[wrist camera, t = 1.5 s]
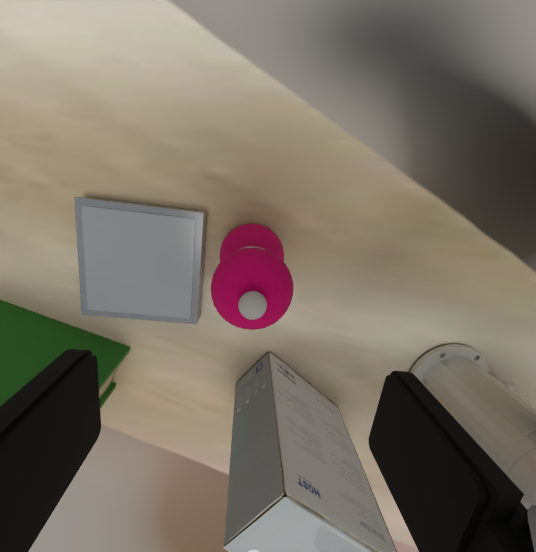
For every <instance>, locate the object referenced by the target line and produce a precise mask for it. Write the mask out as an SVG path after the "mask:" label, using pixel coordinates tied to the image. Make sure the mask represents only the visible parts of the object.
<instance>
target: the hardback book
mask: <svg viewBox="0 0 536 552" xmlns="http://www.w3.org/2000/svg"><path fill="white" fill-rule="evenodd" d="M130 348H131V347H129V346H126V345H123V344H121V343H118V342H115V341H112V340H110V339H107V338H104V337H101V336H98V335H96V334H93V333H90V332H87V331H85V330H82V329H79V328H76V327H74V326H71V325H68V324H65V323H62V322H60V321H57V320H54V319H51V318H49V317H46V316H43V315H40V314H38V313H35V312H32V311H29V310H26V309H24V308H21V307H18V306H15V305H13V304H10V303H7V302H4V301H2V300H0V406H1V405H2V404H3V403H5V402H6V401H7V400H8V399H9V398H10V397H12V396H13V395H14V394H15V393H16V392H17V391H19V390H20V389H21V388H22V387H23V386H24V385H26V384H27V383H28V382H29V381H30V380H31V379H33V378H34V377H35V376H36V375H37V374H38V373H40V372H41V371H42V370H43V369H44V368H45V367H47V366H48V365H49V364H50V363H51V362H53V361H54V360H55V359H56V358H57V357H58V356H60V355H61V354H62V353H63V352H64V351H66V350H67V349H79V350H89V351H91V353H92V355H95V356H96V357H97V362H98V381H99V399H100V408H101V407H102V406H103V404H104V403H105V401H106V400H107V398H108V397H109V396H110V394H111V393H112V391H113V390H114V389H115V386H116V383H113V382H111V380H112V377H113V375H114V372H115V369H116V368H117V367H118V365H119V364H120V363H121V362H122V360H123V359H124V358H125V356H126V355H127V354H128V353H129V350H130Z"/></svg>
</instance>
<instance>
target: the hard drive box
mask: <svg viewBox="0 0 536 552" xmlns="http://www.w3.org/2000/svg"><path fill="white" fill-rule="evenodd" d="M223 548H224V549H225V550H227V551H229V552H397V550H396V548H395V545H394V543H393V540H392V538H391V536H390V533H389V531H388V528H387V526H386V523H385V521H384V518H383V516H382V513H381V511H380V509H379V506H378V504H377V501H376V499H375V496H374V494H373V492H372V489H371V487H370V484H369V482H368V479H367V477H366V474H365V472H364V470H363V467H362V465H361V462H360V460H359V457H358V455H357V453H356V450H355V448H354V445H353V443H352V440H351V438H350V436H349V433H348V431H347V428H346V426H345V423H344V421H343V418H342V416H341V414H340V411H339V409H338V407H336V406H335V405H334V404H333V403H331V402H330V401H329V400H328V399H327V398H326V397H324V396H323V395H322V394H321V393H319V392H318V391H317V390H316V389H314V388H313V387H312V386H311V385H310V384H308V383H307V382H306V381H305V380H303V379H302V378H301V377H300V376H299V375H297V374H296V373H295V372H294V371H293V370H292V369H291V368H289V367H288V366H287V365H286V364H284V363H283V362H282V361H280V360H279V359H278V358H277V357H276V356H274V355H273V354H272V353H267V354H266V355H265V356H264V357H263V358H262V359H261V360H260V361H259V362H257V363H256V364H255V365H254V366H253V367H252V368H251V369H250V370H249V371H248V372H247V373H246V374H245V375H244V376H243V377H242V378H241V379H240V380H239V381H238V382H237V383H236V388H235V403H234V417H233V430H232V444H231V458H230V472H229V487H228V502H227V515H226V529H225V542H224V547H223Z"/></svg>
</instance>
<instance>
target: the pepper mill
mask: <svg viewBox="0 0 536 552" xmlns="http://www.w3.org/2000/svg"><path fill="white" fill-rule="evenodd" d="M283 261H284V253H283V247H282V244H281V242H280V240H279V238H278V237H277V235H276V234H275V233H274V232H273V231H271V230H270V229H269V228H267V227H265V226H262V225H258V224H245V225H241V226H239V227H237V228H235V229H233V230H232V231H231V232H230V233H229V234H228V235H227V236H226V237H225V239H224V241H223V243H222V246H221V251H220V264H219V265H218V266H217V268H216V270H215V272H214V274H213V278H212V283H211V294H212V299H213V303H214V306H215V307H216V309H217V311H218V312H219V314H220V315H221V316H222V317H223V318H224V319H225V320H226V321H228V322H229V323H230V324H232V325H234V326H236V327H240V328H243V329H251V330H253V329H261V328H266V327H268V326H270V325H272V324H274V323H275V322H277V321H278V320H279V319H280V318H281V317H282V316H283V315H284V313H285V312H286V311H287V309H288V307H289V305H290V303H291V299H292V296H293V281H292V277H291V274H290V271H289V269H288V268H287V266H286V265H285V263H284V262H283Z"/></svg>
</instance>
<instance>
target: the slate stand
mask: <svg viewBox="0 0 536 552" xmlns="http://www.w3.org/2000/svg"><path fill="white" fill-rule="evenodd" d="M74 199H75V215H76V231H77V246H78V262H79V278H80V293H81V309H82V314H84V315H95V316H107V317H119V318H130V319H142V320H154V321H165V322H177V323H189V324H197V323H198V320H199V318H200V314H201V298H202V282H203V266H204V250H205V234H206V218H207V212H205V211H197V210H189V209H180V208H172V207H164V206H156V205H148V204H140V203H131V202H123V201H115V200H107V199H99V198H91V197H74Z"/></svg>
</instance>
